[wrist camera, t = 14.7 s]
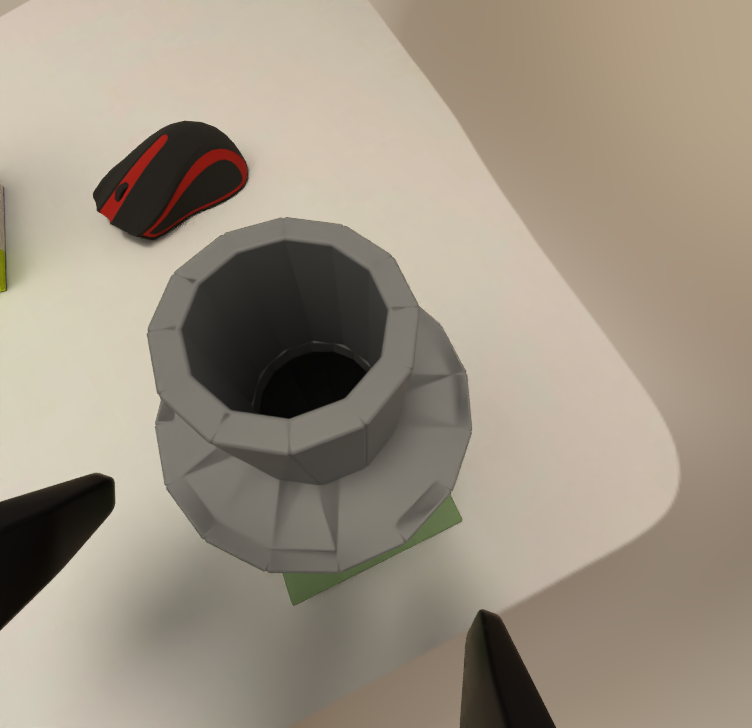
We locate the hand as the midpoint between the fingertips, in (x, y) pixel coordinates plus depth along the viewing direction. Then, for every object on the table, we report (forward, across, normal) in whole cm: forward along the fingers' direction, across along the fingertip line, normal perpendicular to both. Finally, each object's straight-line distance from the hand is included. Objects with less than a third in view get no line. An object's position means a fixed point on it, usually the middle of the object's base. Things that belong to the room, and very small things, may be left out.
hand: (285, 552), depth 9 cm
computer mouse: (+22, +19, -5) cm, 29 cm away
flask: (+8, 0, +4) cm, 9 cm away
